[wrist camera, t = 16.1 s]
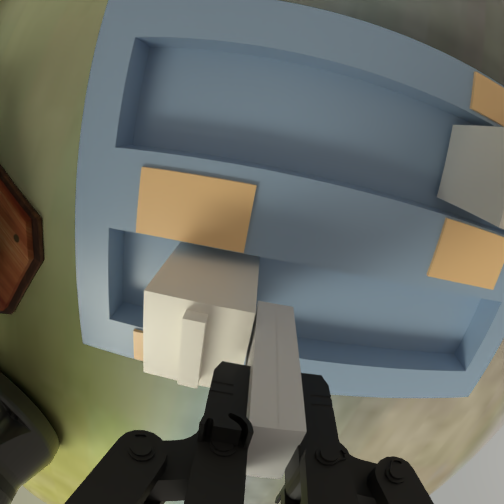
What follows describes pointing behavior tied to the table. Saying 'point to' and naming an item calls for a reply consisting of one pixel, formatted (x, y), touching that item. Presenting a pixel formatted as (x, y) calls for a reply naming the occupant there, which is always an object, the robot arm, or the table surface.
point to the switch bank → (291, 185)
